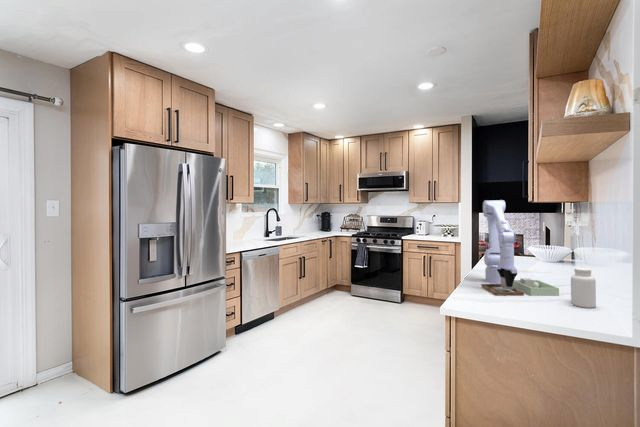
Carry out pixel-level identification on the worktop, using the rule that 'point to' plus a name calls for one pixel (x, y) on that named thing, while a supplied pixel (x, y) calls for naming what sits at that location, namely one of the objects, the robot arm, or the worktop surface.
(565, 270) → the worktop surface
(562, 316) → the worktop surface
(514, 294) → the walnut tray
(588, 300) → the pill bottle
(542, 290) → the green bin
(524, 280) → the grey rectangular block
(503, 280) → the stone
